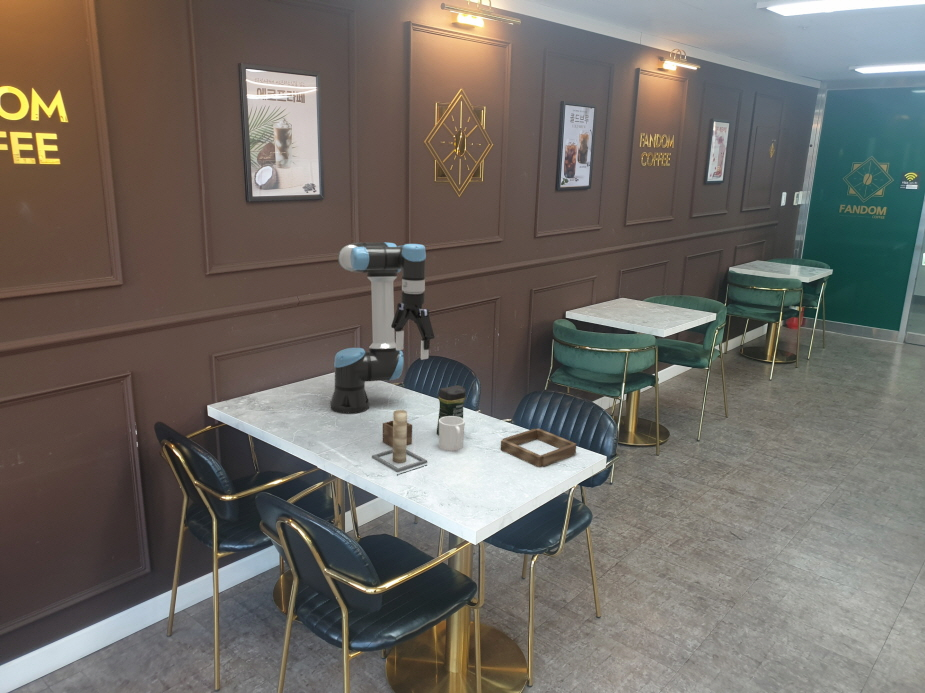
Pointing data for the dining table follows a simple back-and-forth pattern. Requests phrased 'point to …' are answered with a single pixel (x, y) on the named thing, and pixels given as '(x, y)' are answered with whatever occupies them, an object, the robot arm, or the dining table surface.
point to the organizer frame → (535, 459)
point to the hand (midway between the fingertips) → (411, 354)
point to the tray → (421, 461)
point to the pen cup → (389, 433)
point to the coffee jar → (451, 402)
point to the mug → (451, 433)
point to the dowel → (399, 436)
